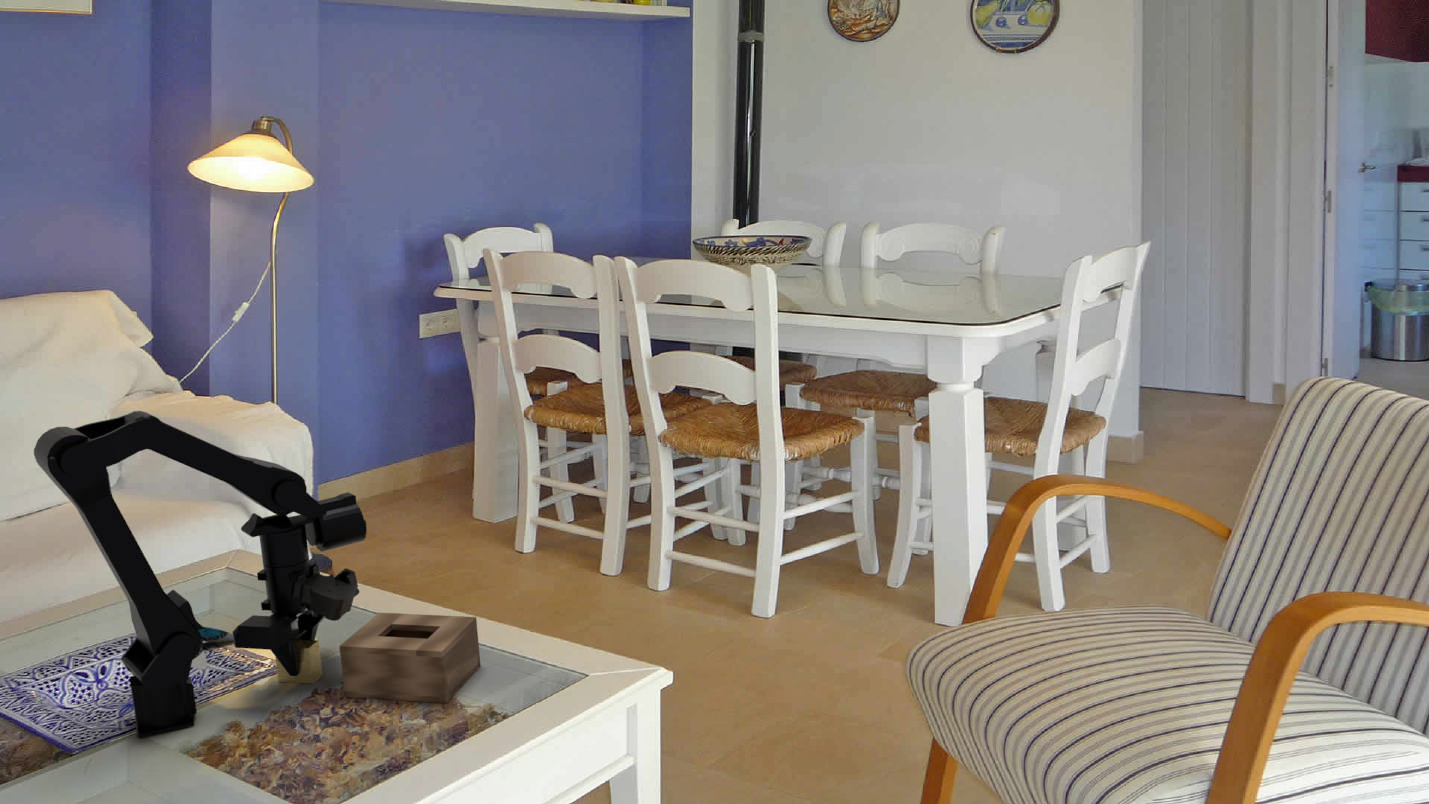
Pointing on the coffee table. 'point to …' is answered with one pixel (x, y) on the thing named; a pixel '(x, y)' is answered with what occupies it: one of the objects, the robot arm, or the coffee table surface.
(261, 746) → the coffee table surface
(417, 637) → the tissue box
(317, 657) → the wooden plank piece
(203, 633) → the decorative butterfly
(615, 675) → the coffee table surface
